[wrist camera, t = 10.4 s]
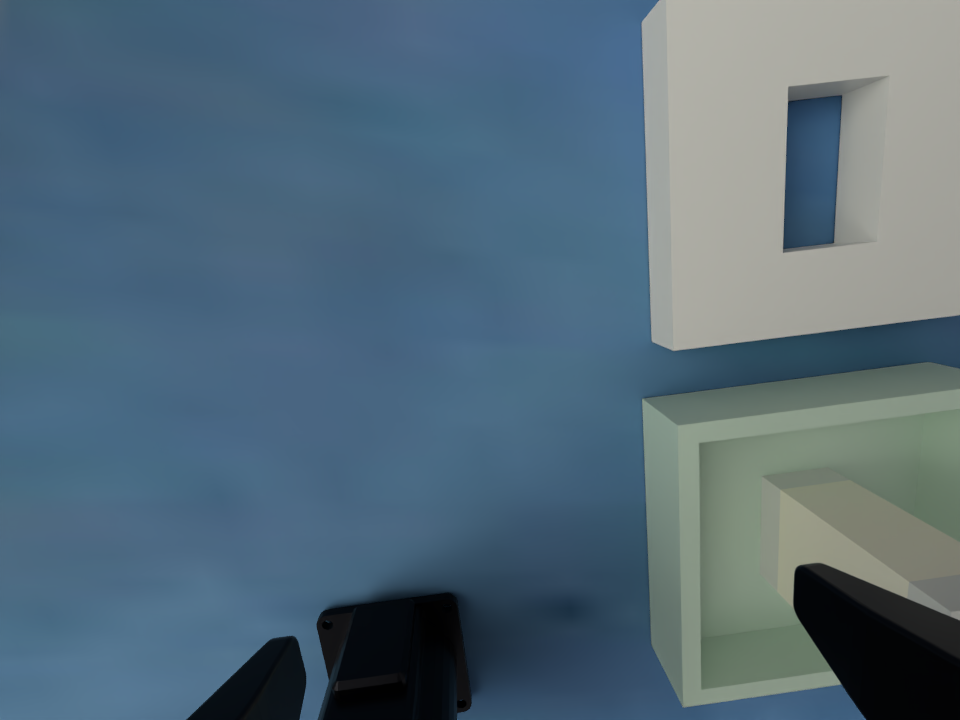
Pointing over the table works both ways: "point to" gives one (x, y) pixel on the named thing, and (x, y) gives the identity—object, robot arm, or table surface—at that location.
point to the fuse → (854, 539)
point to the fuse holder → (762, 164)
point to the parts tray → (737, 509)
